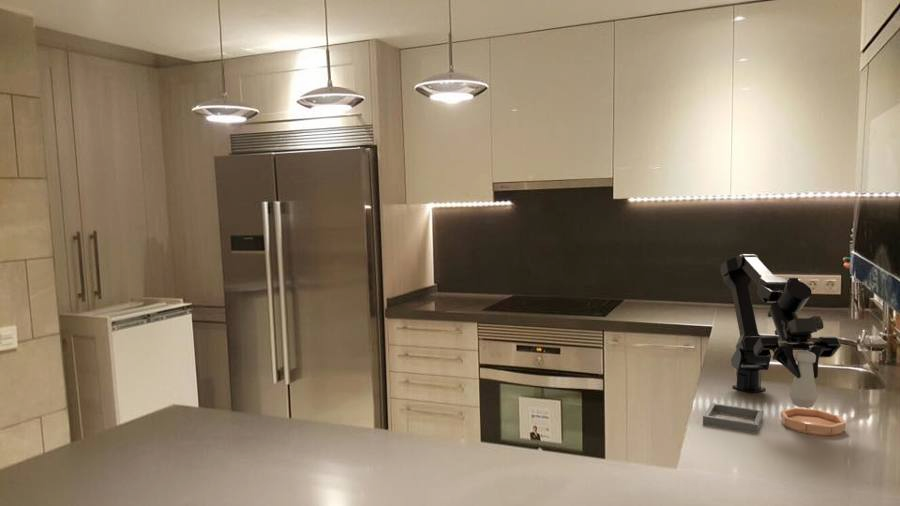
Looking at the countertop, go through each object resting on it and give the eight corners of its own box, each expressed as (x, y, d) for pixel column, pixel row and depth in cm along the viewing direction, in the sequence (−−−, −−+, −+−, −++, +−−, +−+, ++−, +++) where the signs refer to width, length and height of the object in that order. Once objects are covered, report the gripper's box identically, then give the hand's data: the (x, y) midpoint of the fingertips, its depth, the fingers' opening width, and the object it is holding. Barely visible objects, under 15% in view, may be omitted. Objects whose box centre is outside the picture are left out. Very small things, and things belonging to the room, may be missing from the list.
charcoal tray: (711, 410, 163) (711, 402, 163) (762, 418, 157) (763, 410, 157) (702, 424, 153) (703, 416, 153) (757, 433, 147) (757, 425, 146)
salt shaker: (797, 399, 155) (801, 347, 154) (821, 406, 150) (825, 353, 149) (784, 403, 152) (787, 350, 151) (807, 410, 147) (811, 355, 146)
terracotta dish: (802, 413, 160) (803, 405, 160) (855, 429, 149) (855, 420, 149) (769, 421, 154) (770, 413, 154) (821, 439, 143) (822, 429, 143)
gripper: (760, 303, 153) (780, 360, 143) (838, 304, 153) (864, 360, 143) (745, 328, 162) (763, 383, 152) (819, 329, 161) (842, 384, 151)
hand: (807, 377), depth 149 cm, fingers closed on salt shaker, 3 cm apart
